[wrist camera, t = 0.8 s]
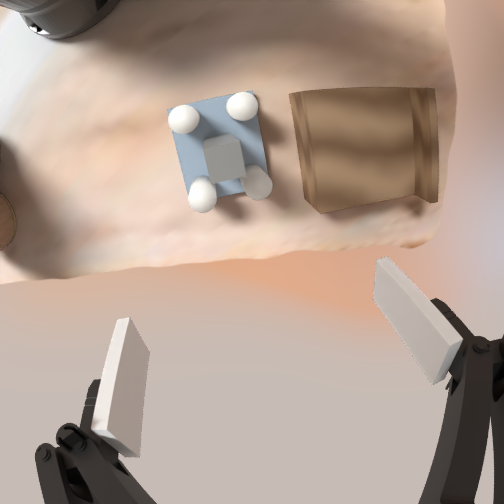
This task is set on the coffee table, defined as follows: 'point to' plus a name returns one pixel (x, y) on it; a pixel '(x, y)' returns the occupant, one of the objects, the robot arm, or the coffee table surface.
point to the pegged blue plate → (220, 149)
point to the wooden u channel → (366, 145)
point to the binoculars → (6, 221)
